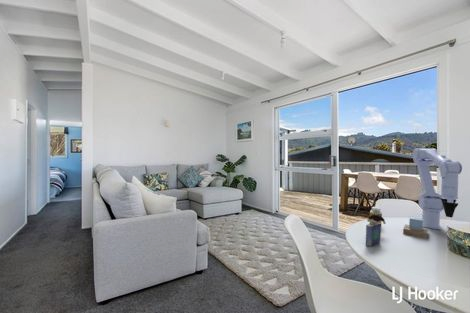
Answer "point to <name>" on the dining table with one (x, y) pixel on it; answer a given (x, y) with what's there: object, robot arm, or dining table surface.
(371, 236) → the flask
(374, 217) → the grandmother figurine
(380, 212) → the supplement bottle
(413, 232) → the walnut block
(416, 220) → the slate cube
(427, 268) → the dining table surface
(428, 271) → the dining table surface
